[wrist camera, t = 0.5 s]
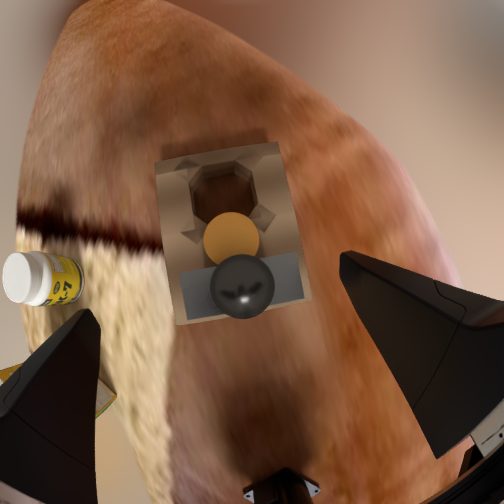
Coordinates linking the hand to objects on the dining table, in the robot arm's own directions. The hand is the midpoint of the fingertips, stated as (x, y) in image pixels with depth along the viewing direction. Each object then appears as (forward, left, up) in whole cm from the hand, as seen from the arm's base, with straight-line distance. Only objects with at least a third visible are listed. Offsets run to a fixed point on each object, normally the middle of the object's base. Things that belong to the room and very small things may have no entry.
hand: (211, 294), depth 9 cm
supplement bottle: (+11, +12, -16) cm, 23 cm away
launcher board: (+3, -3, -16) cm, 16 cm away
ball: (+2, -3, -11) cm, 11 cm away
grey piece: (-1, -1, -12) cm, 13 cm away
